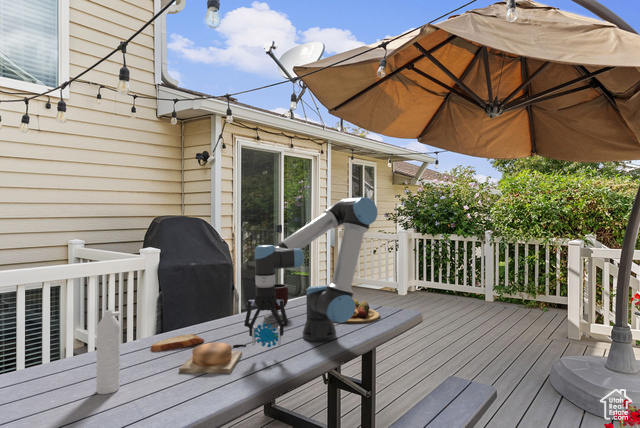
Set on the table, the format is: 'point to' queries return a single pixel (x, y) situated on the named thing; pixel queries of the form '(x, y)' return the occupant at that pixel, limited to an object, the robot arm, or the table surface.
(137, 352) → the table surface
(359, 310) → the wooden plate with food
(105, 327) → the water bottle
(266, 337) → the gear
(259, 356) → the table surface
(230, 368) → the bread on wooden board
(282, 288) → the mate gourd
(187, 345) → the slice of bread
